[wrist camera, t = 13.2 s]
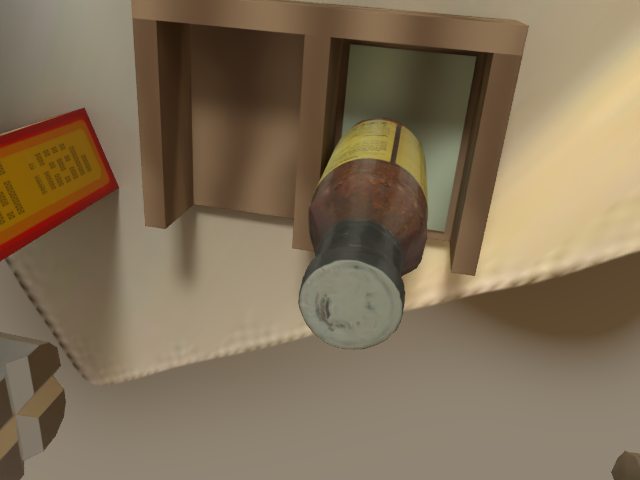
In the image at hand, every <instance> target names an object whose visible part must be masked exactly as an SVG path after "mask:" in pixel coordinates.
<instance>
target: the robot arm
mask: <svg viewBox="0 0 640 480" xmlns="http://www.w3.org/2000/svg"><path fill="white" fill-rule="evenodd" d="M60 366H61V364H60V359H59V354H58V349H57V347H55V346H53V345H52V344H50V343H49V342H44V341H40V340H35V339H30V338H26V337H21V336H16V335H11V334H7V333H2V332H0V480H20V479H21V478H22V477H23V475H24V461H25V460H27V459H29V458H31V457H33V456H35V455H37V454H39V453H41V452H43V451H44V450H45V449H46V447H47V446H48V445H49V444H50V443H51V441H52V440H53V439H54V437H55V436H56V434H57V432H58V429H59V427H60V424H61V422H62V420H63V418H64V411H65V403H66V401H65V392H64V388H63V387H62V386H61V385H60V383H59V382H58V381H57V380H56V378H55V377H54V376H53V375H54V373H55V372H56V371H57V370H58V369H59V367H60ZM611 473H612V476H613V478H614V480H640V454H638V453H633V452H627V451H625V452H623V453H622V454H621V455H620V456H619V457H618V459H617V460H616V463H615V465H614V467H613V469H612V472H611Z"/></svg>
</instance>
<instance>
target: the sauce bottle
mask: <svg viewBox="0 0 640 480" xmlns="http://www.w3.org/2000/svg"><path fill="white" fill-rule="evenodd" d="M308 210H309V215H308V223H309V233H310V238H311V242H312V245H313V248H314V252H315V255H316V258H315V259H313V260H312V262H311V263H310V265H309V266H308V268H307V270H306V272H305V275H304V277H303V280H302V284H301V289H300V293H299V301H298V302H299V307H300V310H301V313H302V316H303V318H304V320H305V322H306V324H307V325H308V327H309V328H310V329H311V331H312V332H313V333H314V334H315V335H316V336H317V337H319V338H320V339H322V340H323V341H324V342H325V343H327V344H330V345H332V346H335V347H338V348H342V349H365V348H368V347H371V346H375V345H377V344H379V343H381V342H383V341H385V340H386V339H388V337H389V336H390V335H391V334H392V333H394V332H395V331H396V329H397V328H398V325H399V324H400V321H401V318H402V314H403V308H404V299H405V291H404V284H403V280H402V278H401V277H402V276H403V275H405V274H407V273H409V272H411V271H413V270H414V269H416V268H417V267H418V265H419V264H420V262H421V260H422V255H423V251H424V247H425V243H426V239H427V221H428V195H427V176H426V161H425V155H424V152H423V149H422V145H421V143H420V142H419V141H418V140H417V138H416V137H415V135H414V134H413V133H412V132H411V131H410V130H409V129H408V128H407V127H406V126H404V125H403V124H402V123H400V122H399V121H397V120H394V119H390V118H380V117H379V118H374V119H367V120H363V121H361V122H359V123H357V124H356V125H355V126H354V127H352V128H351V129H350V130H349V131H347V132H346V133H345V134H344V135H343V136H342V137H341V139H340V140H339V142H338V144H337V145H336V147H335V149H334V151H333V153H332V156H331V158H330V160H329V162H328V164H327V166H326V168H325V171H324V173H323V175H322V177H321V179H320V181H319V183H318V185H317V187H316V189H315V192H314V194H313V197H312V201H311V205H310V206H309V209H308Z"/></svg>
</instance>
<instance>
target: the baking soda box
mask: <svg viewBox="0 0 640 480" xmlns="http://www.w3.org/2000/svg"><path fill="white" fill-rule="evenodd" d="M117 188H119V187H118V184H117V182H116V180H115V177H114V175H113V173H112V170H111V168H110V166H109V163H108V161H107V159H106V157H105V154H104V152H103V150H102V147H101V145H100V143H99V140H98V138H97V136H96V133H95V131H94V129H93V126H92V124H91V122H90V119H89V117H88V115H87V113H86V110H85V108H82V109H79V110H76V111H72V112H69V113H66V114H63V115H59V116H56V117H53V118H50V119H46V120H43V121H40V122H37V123H33V124H30V125H27V126H24V127H20V128H17V129H14V130H10V131H7V132H4V133H1V134H0V261H1V260H3V259H5V258H6V257H8V256H9V255H11V254H13V253H14V252H16V251H18V250H19V249H21V248H22V247H24V246H26V245H27V244H29V243H30V242H32V241H34V240H35V239H37V238H38V237H40V236H42V235H43V234H45V233H47V232H48V231H50V230H51V229H53V228H55V227H56V226H58V225H59V224H61V223H63V222H64V221H66V220H67V219H69V218H71V217H72V216H74V215H75V214H77V213H79V212H80V211H82V210H84V209H85V208H87V207H88V206H90V205H92V204H93V203H95V202H96V201H98V200H100V199H101V198H103V197H104V196H106V195H108V194H109V193H111V192H113V191H114V190H116V189H117Z"/></svg>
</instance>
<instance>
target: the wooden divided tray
mask: <svg viewBox="0 0 640 480" xmlns="http://www.w3.org/2000/svg"><path fill="white" fill-rule="evenodd" d="M131 1H132V18H133V34H134V50H135V67H136V83H137V99H138V116H139V132H140V148H141V165H142V181H143V198H144V214H145V226H149V227H156V228H162V229H166V228H167V227H168V226H170V225H171V224H172V223H173V222H174V221H175V220H176V219H177V218H179V217H180V216H181V215H182V214H183V213H184V212H185V211H187V210H188V209H189V208H190V207H191V206H192V205H193V204H196V205H203V206H210V207H217V208H224V209H231V210H238V211H244V212H251V213H258V214H265V215H272V216H279V217H286V218H293V219H294V225H293V242H292V248H294V249H300V250H307V251H314V248H313V245H312V242H311V238H310V233H309V223H308V215H309V210H308V209H309V206H310V205H311V201H312V197H313V194H314V192H315V189H316V187H317V185H318V183H319V181H320V179H321V177H322V175H323V173H324V171H325V168H326V166H327V164H328V162H329V160H330V158H331V156H332V153H333V151H334V149H335V147H336V145H337V144H338V142H339V140H340V139H341V137H342V136H343V135H344V134H345V133H346V132H347V131H349V130H350V129H351V128H352V127H354V126H355V125H356V124H357V123H359V122H361V121H363V120H367V119H374V118H379V117H380V118H390V119H394V120H397V121H399V122H400V123H402V124H403V125H404V126H406V127H407V128H408V129H409V130H410V131H411V132H412V133H413V134H414V135H415V137H416V138H417V140H418V141H419V142H420V143H421V145H422V149H423V152H424V155H425V161H426V176H427V195H428V221H427V238H432V239H439V240H446V241H450V258H451V272H452V273H458V274H465V275H472V276H475V273H476V269H477V264H478V259H479V255H480V250H481V245H482V241H483V236H484V231H485V227H486V222H487V218H488V213H489V208H490V204H491V199H492V194H493V190H494V185H495V180H496V176H497V171H498V166H499V162H500V157H501V153H502V148H503V143H504V139H505V134H506V129H507V125H508V120H509V115H510V111H511V106H512V102H513V97H514V92H515V88H516V83H517V78H518V74H519V69H520V64H521V60H522V55H523V50H524V46H525V41H526V37H527V32H528V27H529V26H528V25H525V24H523V23H520V22H518V21H516V20H505V19H494V18H482V17H471V16H460V15H448V14H437V13H426V12H414V11H403V10H392V9H380V8H369V7H358V6H346V5H335V4H323V3H312V2H301V1H289V0H131Z"/></svg>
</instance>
